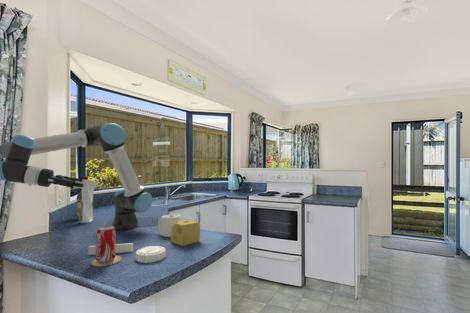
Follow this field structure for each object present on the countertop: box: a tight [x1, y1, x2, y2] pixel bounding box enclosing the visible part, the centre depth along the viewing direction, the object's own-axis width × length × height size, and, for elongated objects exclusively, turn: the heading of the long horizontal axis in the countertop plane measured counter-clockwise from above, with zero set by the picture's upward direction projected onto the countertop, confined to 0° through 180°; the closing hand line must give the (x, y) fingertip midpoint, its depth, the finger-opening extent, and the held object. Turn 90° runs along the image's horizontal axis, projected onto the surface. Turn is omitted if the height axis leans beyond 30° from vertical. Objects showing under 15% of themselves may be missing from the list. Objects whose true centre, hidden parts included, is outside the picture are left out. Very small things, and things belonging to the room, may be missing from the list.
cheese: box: [170, 219, 201, 247], centre depth 134 cm, size 10×11×10 cm
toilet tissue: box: [158, 213, 182, 238], centre depth 148 cm, size 11×12×10 cm
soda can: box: [95, 225, 117, 263], centre depth 108 cm, size 7×7×13 cm
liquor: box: [76, 176, 94, 220], centre depth 195 cm, size 9×9×30 cm
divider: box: [88, 242, 134, 256], centre depth 119 cm, size 18×1×4 cm, turn 101°
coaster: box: [91, 255, 122, 268], centre depth 108 cm, size 11×11×1 cm
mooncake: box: [135, 245, 167, 264], centre depth 112 cm, size 12×12×4 cm
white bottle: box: [78, 187, 95, 223], centre depth 182 cm, size 8×8×28 cm
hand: (94, 185), depth 121 cm, fingers open, 13 cm apart
